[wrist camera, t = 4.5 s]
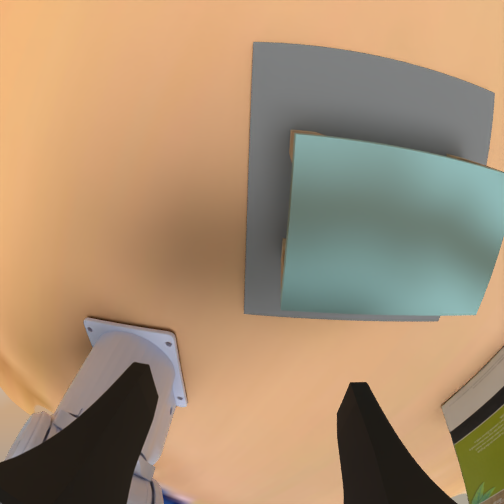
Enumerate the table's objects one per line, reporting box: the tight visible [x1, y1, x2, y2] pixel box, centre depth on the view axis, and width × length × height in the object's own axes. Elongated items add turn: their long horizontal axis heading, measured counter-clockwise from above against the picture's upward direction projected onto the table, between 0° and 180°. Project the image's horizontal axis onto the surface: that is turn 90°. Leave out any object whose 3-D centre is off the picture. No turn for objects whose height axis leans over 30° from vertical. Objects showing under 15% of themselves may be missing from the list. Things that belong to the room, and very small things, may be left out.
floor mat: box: [244, 42, 495, 321], centre depth 16 cm, size 16×14×1 cm
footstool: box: [281, 130, 504, 316], centre depth 13 cm, size 7×10×5 cm
